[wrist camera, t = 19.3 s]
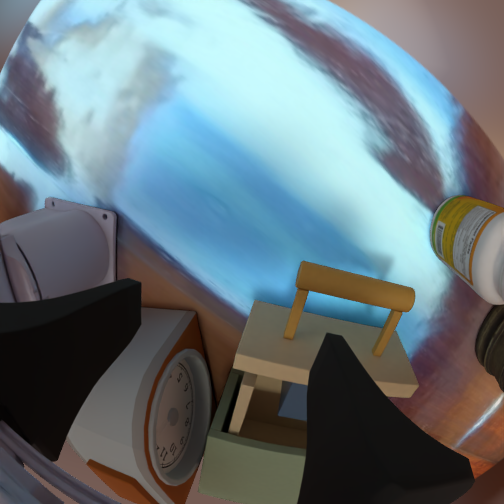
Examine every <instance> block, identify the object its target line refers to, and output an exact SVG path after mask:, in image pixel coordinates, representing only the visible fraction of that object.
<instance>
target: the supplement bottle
mask: <svg viewBox="0 0 504 504" xmlns="http://www.w3.org/2000/svg"><path fill="white" fill-rule="evenodd" d="M430 241H431V246H432V248H433V251H434V253H435V254H436V256H437V257H438V258H439V259H440V260H441V261H442V262H443V263H444V264H445V265H446V266H447V267H449V268H450V269H451V270H452V271H453V272H454V273H456V274H457V275H458V276H459V277H460V278H461V279H462V280H463V281H465V282H466V283H467V284H468V285H469V286H470V287H471V288H472V289H473V290H474V291H475V292H476V293H477V294H478V295H479V296H480V297H482V298H483V299H484V300H485V301H487V302H488V303H491V304H494V305H503V304H504V208H502V207H500V206H497V205H494V204H491V203H488V202H485V201H482V200H479V199H476V198H472V197H469V196H465V195H455V196H452V197H450V198H448V199H446V200H445V201H444V202H443V203H442V204H441V205H440V206H439V207H438V209H437V210H436V212H435V214H434V216H433V219H432V222H431V227H430Z"/></svg>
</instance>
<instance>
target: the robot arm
mask: <svg viewBox="0 0 504 504" xmlns="http://www.w3.org/2000/svg"><path fill="white" fill-rule="evenodd" d="M105 215H107V218H106V216H105ZM116 219H117V218H116V214H115V213H114V212H113V211H109V210H104V209H100V208H96V207H91V206H87V205H83V204H78V203H74V202H70V201H65V200H61V199H56V198H52V197H48V198H46V199H45V208H43V209H39V210H36V211H33V212H30V213H27V214H24V215H21V216H18V217H15V218H12V219H10V220H7V221H4V222H3V223H1V224H0V504H64V502H63V501H61V500H60V499H59V498H58V497H56V496H55V495H54V494H53V493H51V492H50V491H49V490H48V489H47V488H45V487H44V486H43V485H42V484H41V483H40V482H39V481H38V480H37V479H36V478H34V477H33V476H32V475H31V474H30V473H29V472H28V471H26V470H25V469H24V464H23V463H25V464H26V465H27V466H28V467H29V468H31V469H32V470H33V471H34V472H35V473H37V474H38V475H39V476H40V477H42V478H43V479H44V480H46V481H47V482H49V483H50V484H51V485H52V486H54V487H55V488H57V489H58V490H60V491H61V492H63V493H64V494H65V495H67V496H68V497H70V498H71V499H73V500H74V501H76V502H78V503H79V504H121V503H119V502H117V501H115V500H113V499H111V498H109V497H107V496H105V495H103V494H101V493H100V492H98V491H96V490H94V489H93V488H91V487H89V486H87V485H86V484H84V483H82V482H81V481H79V480H78V479H76V478H74V477H73V476H71V475H70V474H68V473H67V472H65V471H64V470H62V469H61V468H60V467H58V466H57V465H55V464H54V463H53V461H57V460H58V458H59V455H60V452H61V450H62V447H63V444H64V442H65V440H66V437H67V435H68V433H69V431H70V428H71V426H72V424H73V422H74V420H75V418H76V416H77V414H78V413H79V411H80V409H81V407H82V405H83V404H84V402H85V400H86V399H87V397H88V395H89V394H90V392H91V391H92V389H93V387H94V386H95V384H96V383H97V382H98V380H99V379H100V378H101V377H102V375H103V374H104V373H105V372H106V371H107V370H108V368H109V367H110V366H111V365H112V364H113V362H114V361H115V360H116V359H117V358H118V357H119V355H120V354H121V353H122V352H123V351H124V350H125V348H126V347H127V346H128V345H129V344H130V342H131V341H132V339H133V338H134V336H135V334H136V333H137V331H138V329H139V328H140V326H141V325H142V323H141V282H139V281H135V280H133V279H130V278H127V279H122V280H118V281H116ZM474 482H475V479H474V476H473V472H472V469H471V465H470V462H469V459H468V458H466V457H464V456H463V455H461V454H459V453H457V452H455V451H453V450H451V449H450V448H448V447H446V446H444V445H443V444H441V443H440V442H438V441H437V440H435V439H434V438H432V437H431V436H429V435H428V434H427V433H425V432H424V431H423V430H421V429H420V428H419V427H418V426H417V425H415V424H414V423H413V422H412V421H411V420H410V419H408V418H407V417H406V416H405V415H404V414H403V413H402V412H401V411H400V410H399V409H398V408H397V407H396V406H395V405H394V404H393V403H392V402H391V401H390V400H389V399H388V397H387V396H386V395H385V394H384V393H383V392H382V390H381V389H380V388H379V387H378V385H377V384H376V383H375V382H374V380H373V379H372V378H371V376H370V375H369V374H368V372H367V371H366V370H365V368H364V367H363V365H362V364H361V362H360V361H359V360H358V358H357V357H356V355H355V354H354V352H353V351H352V349H351V348H350V346H349V345H348V343H347V342H346V340H345V339H344V337H343V336H342V335H337V334H332V333H327V332H326V335H325V337H324V340H323V342H322V344H321V347H320V349H319V351H318V354H317V356H316V358H315V361H314V363H313V365H312V367H311V369H310V372H309V379H308V387H307V447H306V458H305V464H304V471H303V477H302V482H301V487H300V492H299V497H298V501H297V504H450V503H452V502H453V501H455V500H456V499H458V498H459V497H461V496H462V495H463V494H465V493H466V492H467V491H468V490H469V489H470V488H471V487H472V485H473V483H474Z"/></svg>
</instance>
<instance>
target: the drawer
mask: <svg viewBox="0 0 504 504" xmlns="http://www.w3.org/2000/svg"><path fill="white" fill-rule="evenodd" d="M295 286H296V287H297V288H298V289H297V292H296V295H295V299H294V302H293V305H292V309H291V308H287V307H283V306H278V305H274V304H270V303H266V302H262V301H258V300H254V303H253V306H252V309H251V312H250V314H249V317H248V320H247V323H246V326H245V329H244V332H243V335H242V337H241V340H240V343H239V346H238V349H237V352H236V355H235V360H234V364H233V368H234V369H238V370H242V371H245V373H244V377H243V380H242V383H241V387H240V391H239V394H238V398H237V402H236V405H235V409H234V412H233V416H232V420H231V423H230V427H229V430H228V434H232V435H236V436H240V437H244V438H248V439H253V440H257V441H262V442H267V443H272V444H278V445H283V446H289V447H296V448H303V449H306V447H307V421H305V420H299V419H293V418H288V417H282V416H278V408H279V401H280V394H281V386H282V380H284V381H288V382H293V383H298V384H303V385H308V379H309V372H310V369H311V367H312V365H313V363H314V361H315V358H316V356H317V354H318V351H319V349H320V347H321V344H322V342H323V340H324V337H325V335H326V332H327V333H332V334H337V335H342V336H343V337H344V339H345V340H346V342H347V343H348V345H349V346H350V348H351V349H352V351H353V352H354V354H355V355H356V357H357V358H358V360H359V361H360V362H361V364H362V365H363V367H364V368H365V370H366V371H367V372H368V374H369V375H370V376H371V378H372V379H373V380H374V382H375V383H376V384H377V385H378V387H379V388H380V389H381V390H382V392H383V393H384V394H385V395H386V396H387V397H388V396H389V397H402V398H410V397H411V396H412V395H413V393H414V392H415V391H416V389H417V388H418V386H419V384H418V382H417V379H416V377H415V374H414V372H413V369H412V367H411V364H410V362H409V359H408V357H407V355H406V352H405V350H404V348H403V345H402V343H401V341H400V338H399V336H398V334H397V332H396V331H394V330H395V328H396V326H397V324H398V322H399V320H400V318H401V315H402V312H409V311H410V310H411V309H412V307H413V305H414V301H415V291H414V289H413V288H411V287H407V286H403V285H399V284H395V283H391V282H387V281H383V280H379V279H375V278H371V277H367V276H363V275H359V274H355V273H351V272H347V271H343V270H339V269H335V268H331V267H327V266H323V265H319V264H315V263H310V262H306V261H302V262H301V264H300V267H299V270H298V274H297V278H296V284H295ZM309 291H313V292H318V293H322V294H326V295H330V296H335V297H339V298H343V299H348V300H352V301H356V302H361V303H365V304H370V305H374V306H379V307H383V308H388V309H391V311H390V314H389V316H388V318H387V320H386V322H385V324H384V326H383V328H378V327H373V326H368V325H363V324H358V323H354V322H349V321H344V320H339V319H335V318H330V317H326V316H321V315H317V314H312V313H308V312H304V311H303V308H304V305H305V302H306V299H307V296H308V293H309Z"/></svg>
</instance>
